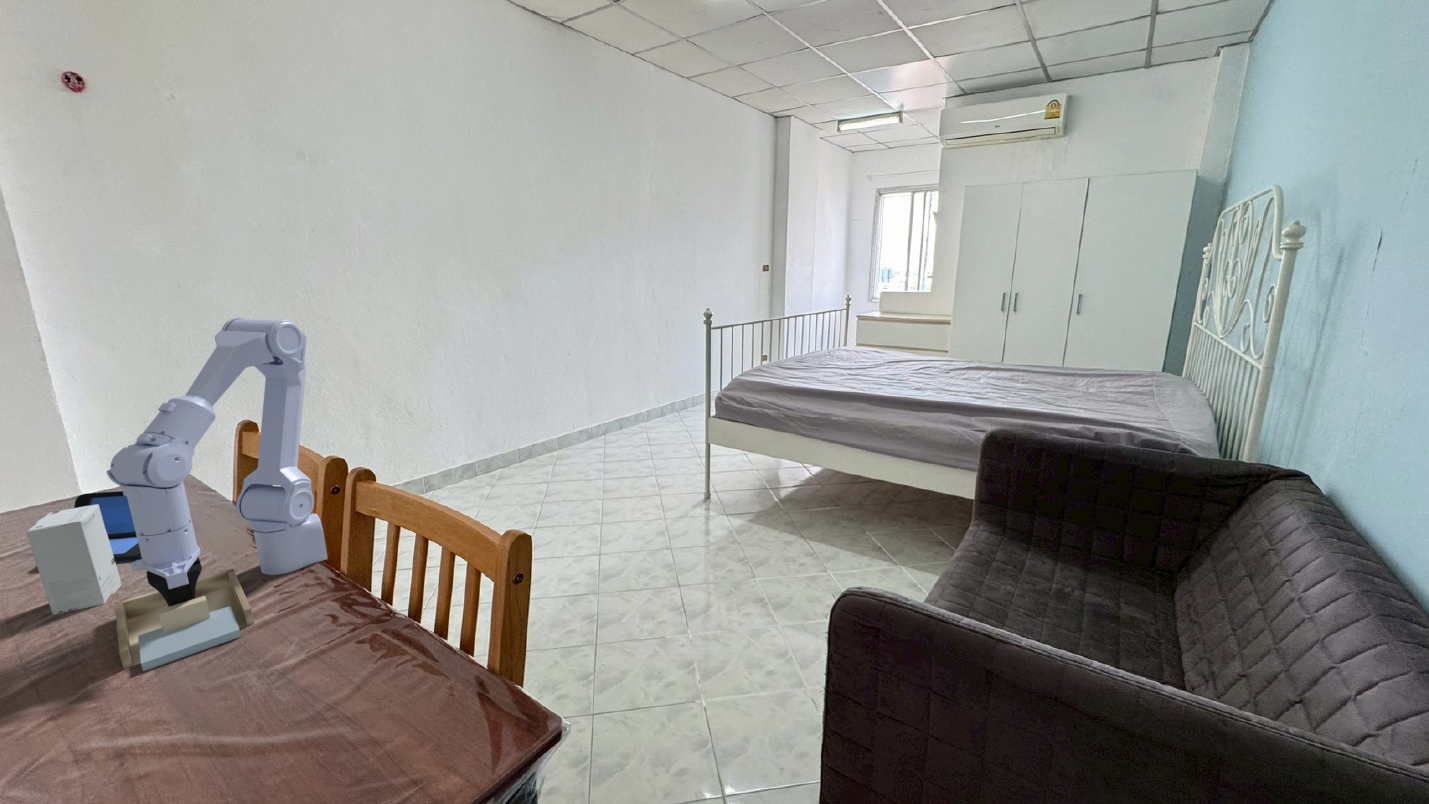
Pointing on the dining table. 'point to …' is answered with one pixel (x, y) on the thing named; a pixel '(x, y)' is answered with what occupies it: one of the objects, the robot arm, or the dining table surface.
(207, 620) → the cover plate
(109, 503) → the handheld game console
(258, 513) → the robot arm
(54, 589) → the skincare box
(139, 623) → the birch box
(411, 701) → the dining table surface
